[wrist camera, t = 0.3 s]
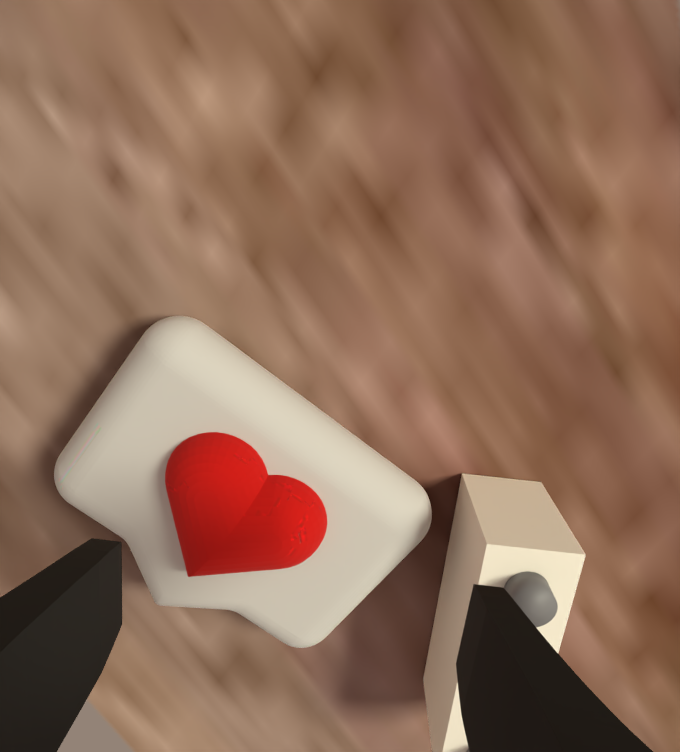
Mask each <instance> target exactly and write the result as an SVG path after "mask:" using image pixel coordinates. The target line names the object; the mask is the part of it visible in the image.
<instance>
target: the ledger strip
mask: <svg viewBox="0 0 680 752" xmlns="http://www.w3.org/2000/svg"><path fill="white" fill-rule="evenodd" d="M585 556H586V554H585V553H584V551H583V549H582V548H581V546H580V545H579V543H578V541H577V540H576V538H575V536H574V535H573V533H572V532H571V530H570V528H569V527H568V525H567V523H566V522H565V520H564V519H563V517H562V515H561V514H560V512H559V510H558V509H557V507H556V506H555V504H554V502H553V501H552V499H551V497H550V496H549V494H548V493H547V491H546V489H545V488H544V486H543V484H542V483H541V482H536V481H527V480H517V479H508V478H499V477H490V476H480V475H471V474H462V476H461V481H460V486H459V492H458V497H457V502H456V508H455V513H454V518H453V523H452V529H451V534H450V539H449V545H448V550H447V555H446V561H445V566H444V571H443V576H442V582H441V587H440V592H439V598H438V603H437V608H436V613H435V619H434V624H433V629H432V635H431V640H430V645H429V651H428V656H427V661H426V666H425V672H424V677H423V683H424V691H425V699H426V707H427V715H428V723H429V731H430V739H431V747H432V752H469V747H468V743H467V739H466V734H465V730H464V725H463V720H462V715H461V707H460V699H459V690H458V680H457V670H456V661H457V656H458V652H459V647H460V643H461V638H462V634H463V629H464V625H465V620H466V616H467V612H468V607H469V603H470V598H471V594H472V589H473V585H474V584H478V585H486V586H495V587H503V588H504V589H505V590H506V591H507V592H508V593H509V595H510V596H511V597H512V598H513V599H514V601H515V602H516V603H517V604H518V606H519V607H520V608H521V609H522V611H523V612H524V613H525V614H526V616H527V617H528V618H529V619H530V621H531V622H532V623H533V624H534V625H535V627H536V628H537V629H538V630H539V632H540V633H541V634H542V635H543V636H544V638H545V639H546V640H547V641H548V642H549V644H550V645H551V646H552V647H553V648H554V650H555V651H556V652H557V653H558V652H559V649H560V645H561V642H562V638H563V634H564V631H565V627H566V624H567V620H568V616H569V613H570V609H571V606H572V602H573V599H574V595H575V591H576V588H577V584H578V581H579V577H580V574H581V570H582V566H583V563H584V559H585Z"/></svg>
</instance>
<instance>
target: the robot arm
mask: <svg viewBox="0 0 680 752" xmlns="http://www.w3.org/2000/svg"><path fill="white" fill-rule="evenodd" d="M121 625H122V553H121V542H116V541H108V540H100V539H90V540H89V541H87V542H85V543H84V544H82V545H80V546H79V547H77V548H76V549H74V550H73V551H71V552H70V553H68V554H67V555H65V556H64V557H62V558H61V559H59V560H58V561H56V562H55V563H53V564H52V565H50V566H49V567H47V568H46V569H44V570H43V571H41V572H39V573H38V574H36V575H35V576H33V577H32V578H30V579H29V580H27V581H26V582H24V583H22V584H21V585H19V586H18V587H16V588H15V589H13V590H12V591H10V592H8V593H7V594H5V595H4V596H2V597H1V598H0V752H57V750H58V748H59V747H60V745H61V743H62V741H63V739H64V738H65V736H66V734H67V733H68V731H69V729H70V728H71V726H72V724H73V722H74V720H75V719H76V717H77V715H78V714H79V712H80V710H81V708H82V707H83V705H84V703H85V701H86V700H87V698H88V696H89V694H90V692H91V691H92V689H93V687H94V685H95V684H96V682H97V680H98V678H99V676H100V674H101V673H102V670H103V668H104V666H105V664H106V661H107V659H108V657H109V654H110V652H111V650H112V647H113V645H114V642H115V640H116V638H117V635H118V633H119V630H120V628H121ZM456 670H457V680H458V690H459V699H460V707H461V715H462V720H463V725H464V730H465V734H466V739H467V743H468V747H469V752H653V751H652V750H651V749H649V748H648V747H647V746H646V745H645V744H644V743H643V742H642V741H641V740H640V739H639V738H638V737H637V736H635V735H634V734H633V733H632V732H631V731H630V730H629V729H628V728H627V727H626V726H625V725H624V724H623V723H622V722H621V721H620V720H619V719H618V718H617V717H616V716H615V715H614V714H613V713H612V712H611V711H610V710H609V709H608V708H607V707H606V706H605V705H604V704H603V703H602V702H601V701H600V699H599V698H598V697H597V696H596V695H595V694H594V693H593V692H592V691H591V690H590V689H589V688H588V687H587V686H586V685H585V684H584V682H583V681H582V680H581V679H580V678H579V677H578V676H577V675H576V674H575V673H574V671H573V670H572V669H571V668H570V667H569V666H568V665H567V663H566V662H565V661H564V660H563V659H562V658H561V657H560V655H559V654H558V653H557V652H556V651H555V650H554V648H553V647H552V646H551V645H550V644H549V642H548V641H547V640H546V639H545V638H544V636H543V635H542V634H541V633H540V632H539V630H538V629H537V628H536V627H535V625H534V624H533V623H532V622H531V621H530V619H529V618H528V617H527V616H526V614H525V613H524V612H523V611H522V609H521V608H520V607H519V606H518V604H517V603H516V602H515V601H514V599H513V598H512V597H511V596H510V595H509V593H508V592H507V591H506V590H505V589H504V588H503V587H495V586H486V585H478V584H474V585H473V589H472V594H471V598H470V603H469V607H468V612H467V616H466V620H465V625H464V629H463V634H462V638H461V643H460V647H459V652H458V656H457V661H456Z"/></svg>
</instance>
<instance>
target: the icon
mask: <svg viewBox="0 0 680 752" xmlns="http://www.w3.org/2000/svg"><path fill="white" fill-rule="evenodd" d="M54 480H55V484H56V487H57V490H58V492H59V493H60V495H61V496H62V497H63V498H64V499H65V500H66V501H67V502H68V503H69V504H71V505H72V506H74V507H76V508H77V509H79V510H80V511H82V512H83V513H85V514H86V515H88V516H89V517H91V518H92V519H94V520H96V521H97V522H99V523H100V524H102V525H103V526H105V527H106V528H108V529H109V530H111V531H112V532H114V533H115V534H117V535H119V536H120V537H121V538H123V539H124V540H125V541H126V542H127V544H128V545H129V547H130V549H131V552H132V554H133V556H134V558H135V560H136V562H137V565H138V567H139V569H140V571H141V573H142V576H143V578H144V580H145V582H146V584H147V586H148V589H149V591H150V593H151V595H152V597H153V599H154V602H155V603H156V604H158V605H160V606H176V607H192V608H209V609H225V610H231V611H235V612H237V613H239V614H240V615H242V616H243V617H245V618H246V619H248V620H249V621H251V622H252V623H254V624H256V625H257V626H259V627H260V628H262V629H263V630H265V631H266V632H268V633H269V634H271V635H272V636H274V637H276V638H277V639H279V640H280V641H282V642H283V643H285V644H287V645H289V646H292V647H297V648H305V647H310V646H313V645H315V644H317V643H319V642H321V641H322V640H323V639H324V638H325V637H326V636H327V635H328V634H329V633H330V632H331V631H332V630H333V629H334V628H335V627H336V626H337V625H338V624H339V623H340V622H341V621H342V620H343V619H344V618H345V617H346V616H347V615H348V614H349V613H350V612H351V611H352V610H353V609H354V608H355V607H356V606H357V605H358V604H359V603H360V602H361V601H362V600H363V599H364V598H365V597H366V596H367V595H368V594H369V593H370V592H371V591H372V590H373V589H374V588H375V587H376V586H377V585H378V584H379V583H380V582H381V581H382V580H383V579H384V578H385V577H386V576H387V575H388V574H389V573H390V572H391V571H392V570H393V569H394V568H395V567H396V566H397V565H398V564H399V563H400V562H401V561H402V560H403V559H404V558H405V557H406V556H407V555H408V554H409V553H410V552H411V551H412V550H413V549H414V548H415V547H416V546H417V545H418V544H419V543H420V542H421V541H422V540H423V538H424V537H425V536H426V534H427V532H428V530H429V528H430V524H431V519H432V509H431V504H430V500H429V497H428V495H427V493H426V491H425V490H424V489H423V487H422V486H421V485H420V484H419V483H418V482H417V481H415V480H414V479H413V478H411V477H410V476H409V475H407V474H406V473H405V472H403V471H402V470H401V469H399V468H398V467H397V466H395V465H394V464H393V463H391V462H390V461H389V460H387V459H386V458H384V457H383V456H382V455H380V454H379V453H378V452H376V451H375V450H374V449H372V448H371V447H370V446H368V445H367V444H366V443H364V442H363V441H362V440H360V439H359V438H358V437H356V436H355V435H354V434H352V433H351V432H350V431H348V430H347V429H345V428H344V427H343V426H341V425H340V424H339V423H337V422H336V421H335V420H333V419H332V418H331V417H329V416H328V415H327V414H325V413H324V412H323V411H321V410H320V409H319V408H317V407H316V406H315V405H313V404H312V403H311V402H309V401H308V400H306V399H305V398H304V397H302V396H301V395H300V394H298V393H297V392H296V391H294V390H293V389H292V388H290V387H289V386H288V385H286V384H285V383H284V382H282V381H281V380H280V379H278V378H277V377H276V376H274V375H273V374H271V373H270V372H269V371H267V370H266V369H265V368H263V367H262V366H261V365H259V364H258V363H257V362H255V361H254V360H253V359H251V358H250V357H249V356H247V355H246V354H245V353H243V352H242V351H241V350H239V349H238V348H237V347H235V346H234V345H232V344H231V343H230V342H228V341H227V340H226V339H224V338H223V337H222V336H220V335H219V334H218V333H216V332H215V331H214V330H212V329H211V328H210V327H208V326H207V325H206V324H204V323H203V322H201V321H199V320H197V319H195V318H192V317H188V316H171V317H167V318H164V319H161V320H159V321H158V322H156V323H154V324H153V325H152V326H150V327H149V328H148V329H147V330H146V331H145V333H144V334H143V335H142V337H141V338H140V340H139V341H138V343H137V344H136V345H135V347H134V348H133V350H132V351H131V353H130V354H129V356H128V357H127V358H126V360H125V361H124V363H123V364H122V366H121V367H120V369H119V370H118V371H117V373H116V374H115V376H114V377H113V379H112V380H111V381H110V383H109V384H108V386H107V387H106V389H105V390H104V392H103V393H102V394H101V396H100V397H99V399H98V400H97V402H96V403H95V405H94V406H93V407H92V409H91V410H90V412H89V413H88V415H87V416H86V417H85V419H84V420H83V422H82V423H81V425H80V426H79V428H78V429H77V430H76V432H75V433H74V435H73V436H72V438H71V439H70V441H69V442H68V443H67V445H66V446H65V448H64V449H63V451H62V452H61V454H60V455H59V457H58V459H57V461H56V464H55V469H54Z"/></svg>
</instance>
